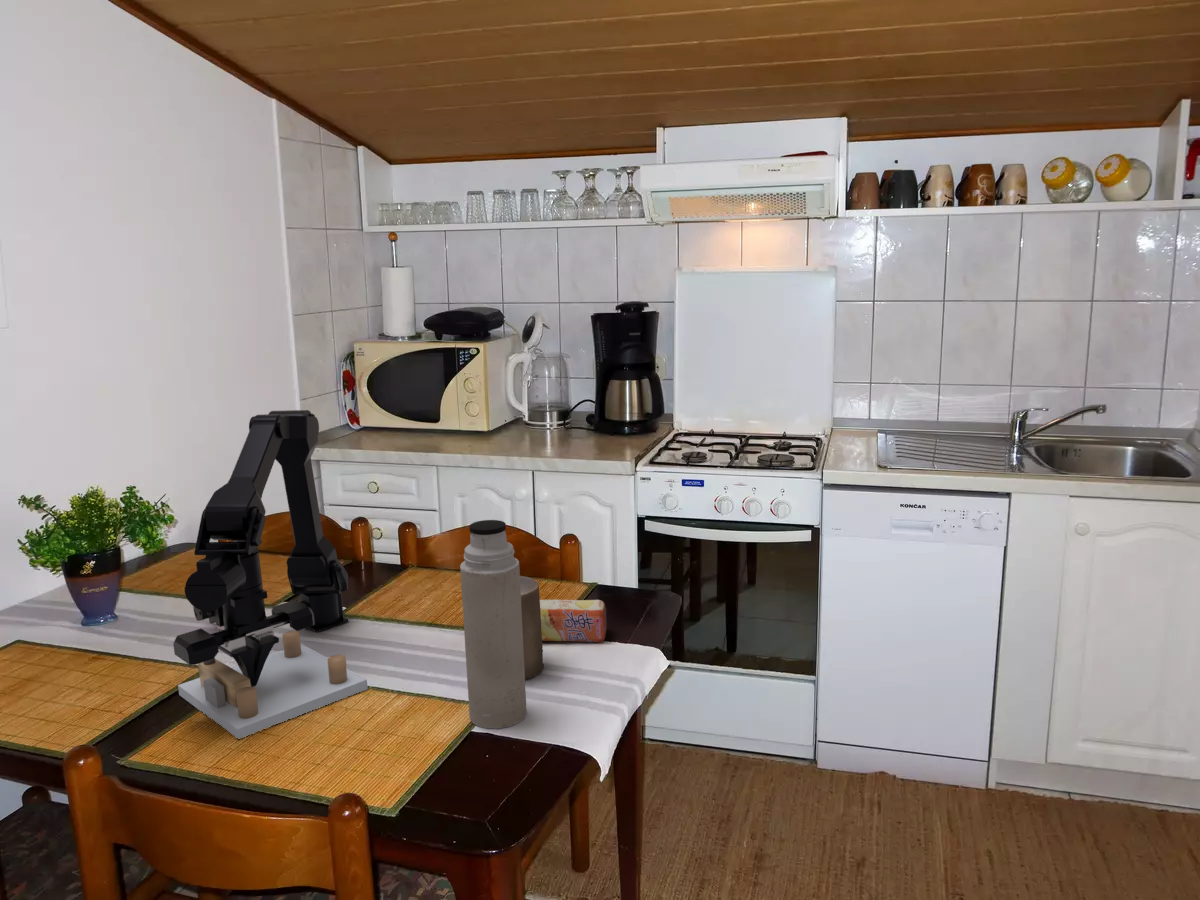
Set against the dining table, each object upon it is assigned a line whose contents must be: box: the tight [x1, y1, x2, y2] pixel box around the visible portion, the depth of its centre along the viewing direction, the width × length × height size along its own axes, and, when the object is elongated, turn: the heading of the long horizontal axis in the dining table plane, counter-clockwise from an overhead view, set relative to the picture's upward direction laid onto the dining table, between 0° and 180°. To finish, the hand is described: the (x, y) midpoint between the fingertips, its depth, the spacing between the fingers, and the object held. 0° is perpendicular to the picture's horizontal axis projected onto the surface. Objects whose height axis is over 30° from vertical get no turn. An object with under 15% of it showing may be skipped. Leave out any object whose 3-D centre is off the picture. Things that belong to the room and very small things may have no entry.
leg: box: [197, 657, 251, 708], centre depth 137 cm, size 11×2×4 cm, turn 47°
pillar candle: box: [520, 575, 545, 680], centre depth 145 cm, size 10×10×15 cm
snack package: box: [540, 599, 608, 643], centre depth 158 cm, size 21×7×7 cm, turn 86°
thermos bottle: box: [459, 519, 527, 730], centre depth 129 cm, size 8×8×28 cm
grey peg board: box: [177, 630, 368, 740], centre depth 140 cm, size 20×20×5 cm
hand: (252, 685), depth 137 cm, fingers closed
